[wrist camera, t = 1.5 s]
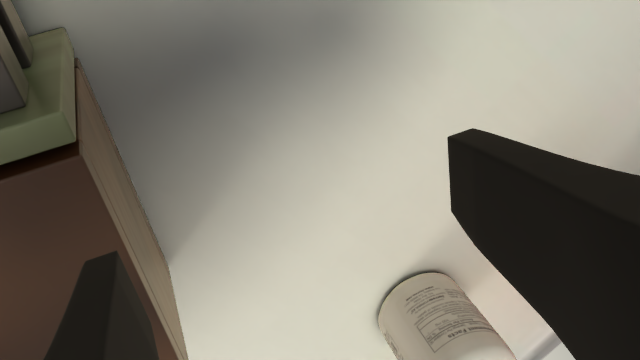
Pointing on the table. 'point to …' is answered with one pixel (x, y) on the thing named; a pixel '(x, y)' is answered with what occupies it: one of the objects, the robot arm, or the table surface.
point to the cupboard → (75, 236)
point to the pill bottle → (437, 323)
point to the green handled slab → (34, 89)
